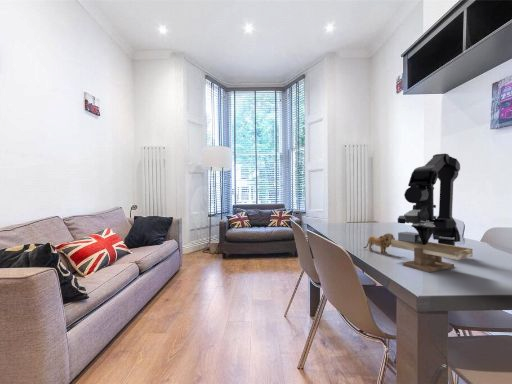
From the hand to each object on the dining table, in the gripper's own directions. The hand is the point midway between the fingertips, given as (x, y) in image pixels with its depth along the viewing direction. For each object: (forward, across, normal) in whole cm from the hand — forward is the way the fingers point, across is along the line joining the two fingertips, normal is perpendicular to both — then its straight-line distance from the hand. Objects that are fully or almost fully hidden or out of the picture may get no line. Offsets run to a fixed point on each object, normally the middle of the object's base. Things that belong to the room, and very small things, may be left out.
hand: (424, 244), depth 107 cm
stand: (+8, +1, 0) cm, 8 cm away
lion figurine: (+8, -23, +3) cm, 25 cm away
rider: (+1, -6, 0) cm, 6 cm away
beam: (+2, +1, 0) cm, 2 cm away
